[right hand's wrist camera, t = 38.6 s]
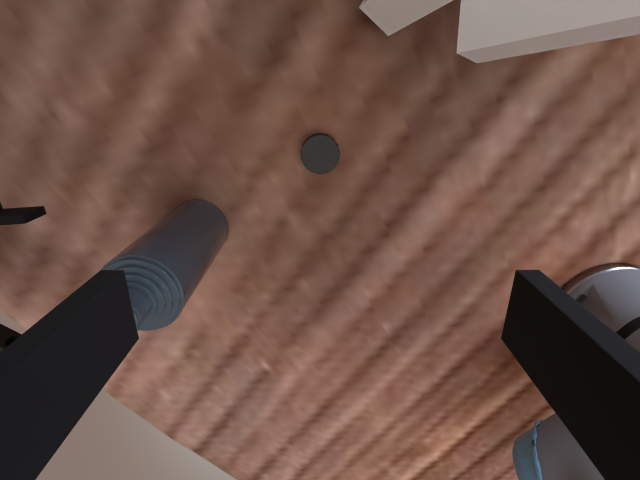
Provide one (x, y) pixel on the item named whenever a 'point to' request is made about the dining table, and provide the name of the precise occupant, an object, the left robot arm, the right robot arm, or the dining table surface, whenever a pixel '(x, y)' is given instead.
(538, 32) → the pile of blocks
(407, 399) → the dining table surface
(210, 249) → the bottle
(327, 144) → the cap
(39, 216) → the left robot arm
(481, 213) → the dining table surface
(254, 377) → the dining table surface
